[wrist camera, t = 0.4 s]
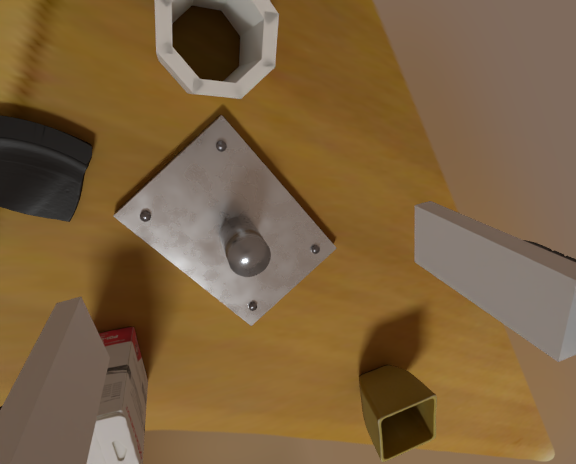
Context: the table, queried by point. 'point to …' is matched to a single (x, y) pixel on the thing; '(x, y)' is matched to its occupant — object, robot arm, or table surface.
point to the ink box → (121, 403)
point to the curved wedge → (41, 169)
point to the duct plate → (211, 205)
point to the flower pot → (397, 410)
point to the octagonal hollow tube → (253, 44)
